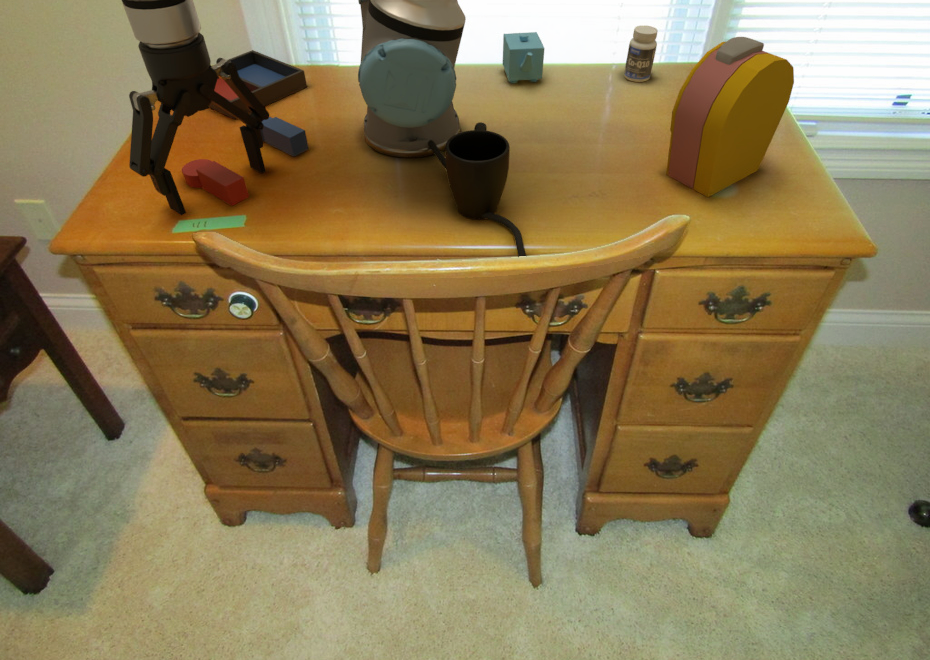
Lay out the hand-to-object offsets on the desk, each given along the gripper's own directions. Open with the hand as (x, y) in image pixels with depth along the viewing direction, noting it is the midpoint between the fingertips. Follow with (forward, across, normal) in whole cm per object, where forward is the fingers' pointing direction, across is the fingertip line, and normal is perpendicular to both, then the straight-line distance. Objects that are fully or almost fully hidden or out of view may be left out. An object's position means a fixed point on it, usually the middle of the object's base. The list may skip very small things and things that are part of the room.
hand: (220, 189), depth 91 cm
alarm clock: (0, -48, +53) cm, 71 cm away
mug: (0, -21, +31) cm, 37 cm away
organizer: (0, -22, -23) cm, 32 cm away
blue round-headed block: (0, -14, -5) cm, 15 cm away
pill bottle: (0, -70, +29) cm, 76 cm away
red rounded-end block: (0, 0, -1) cm, 1 cm away
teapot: (0, -57, +13) cm, 58 cm away
